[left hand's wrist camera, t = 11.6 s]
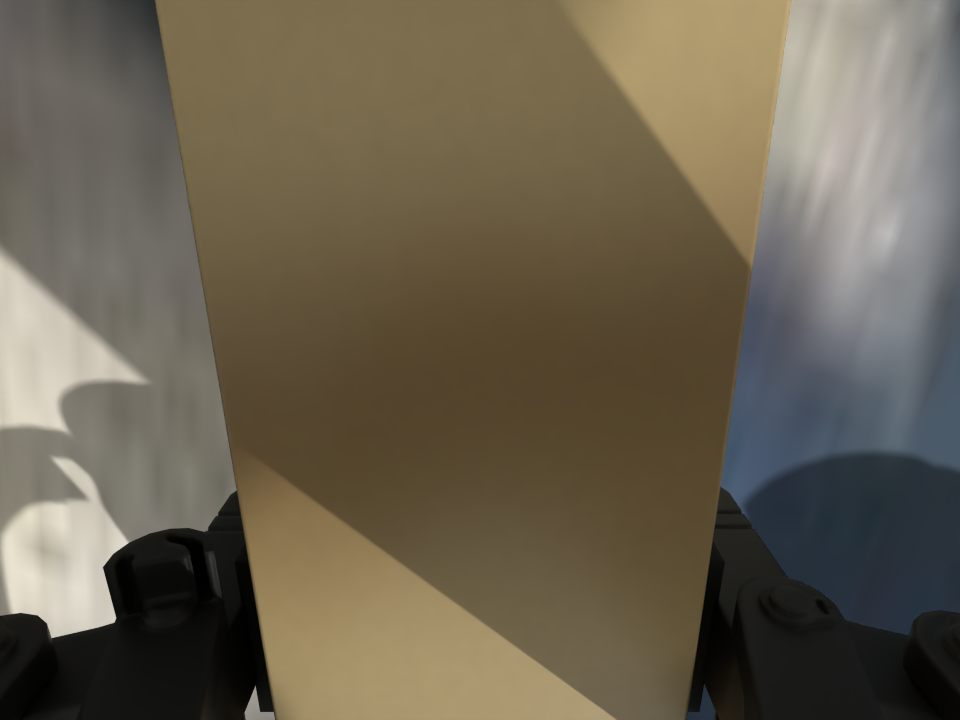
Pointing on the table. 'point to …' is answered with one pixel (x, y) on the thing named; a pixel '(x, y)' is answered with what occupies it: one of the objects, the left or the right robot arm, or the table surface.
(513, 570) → the oak plank
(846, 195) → the table surface
